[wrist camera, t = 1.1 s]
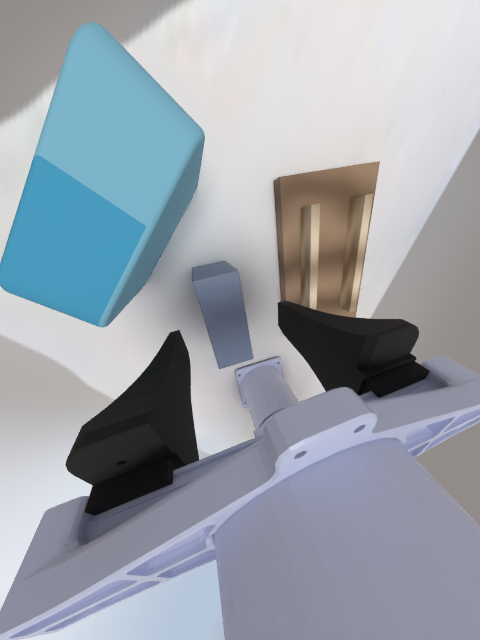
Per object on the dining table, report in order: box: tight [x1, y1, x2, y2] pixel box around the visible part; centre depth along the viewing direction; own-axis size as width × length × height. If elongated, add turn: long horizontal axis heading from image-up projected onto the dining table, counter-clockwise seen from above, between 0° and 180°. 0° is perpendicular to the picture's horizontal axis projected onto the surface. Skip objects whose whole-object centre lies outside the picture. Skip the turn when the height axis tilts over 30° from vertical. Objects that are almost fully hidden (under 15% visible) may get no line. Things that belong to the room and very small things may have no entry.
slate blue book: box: [192, 261, 253, 369], centre depth 21 cm, size 10×4×7 cm, turn 10°
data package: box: [0, 22, 205, 327], centre depth 13 cm, size 12×4×12 cm, turn 144°
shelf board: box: [274, 161, 380, 317], centre depth 23 cm, size 20×12×4 cm, turn 10°
